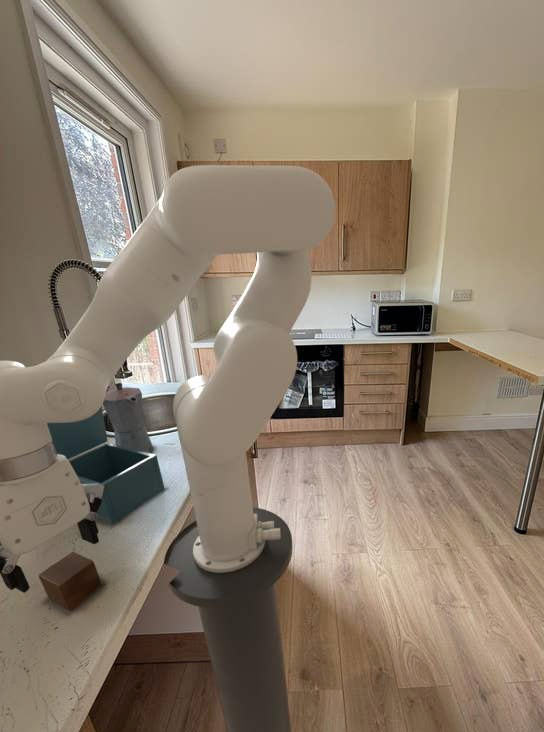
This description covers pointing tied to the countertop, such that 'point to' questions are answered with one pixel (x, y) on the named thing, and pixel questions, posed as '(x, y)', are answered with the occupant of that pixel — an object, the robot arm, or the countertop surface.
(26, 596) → the countertop surface
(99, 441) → the bin lid
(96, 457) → the bin
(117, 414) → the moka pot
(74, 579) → the block
